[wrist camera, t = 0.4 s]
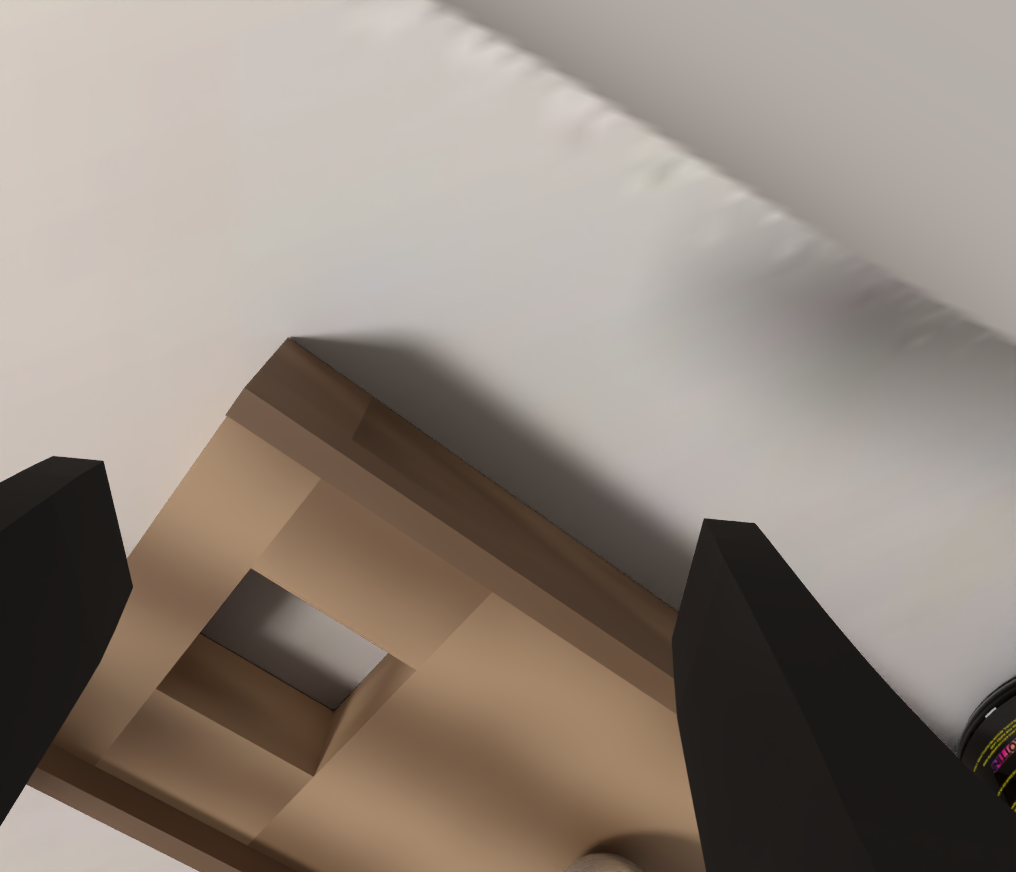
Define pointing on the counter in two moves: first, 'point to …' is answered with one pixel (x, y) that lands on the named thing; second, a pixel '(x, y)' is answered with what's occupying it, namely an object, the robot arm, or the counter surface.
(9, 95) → the counter surface
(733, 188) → the counter surface
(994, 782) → the supplement container
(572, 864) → the ball
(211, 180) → the counter surface
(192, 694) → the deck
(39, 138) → the counter surface
